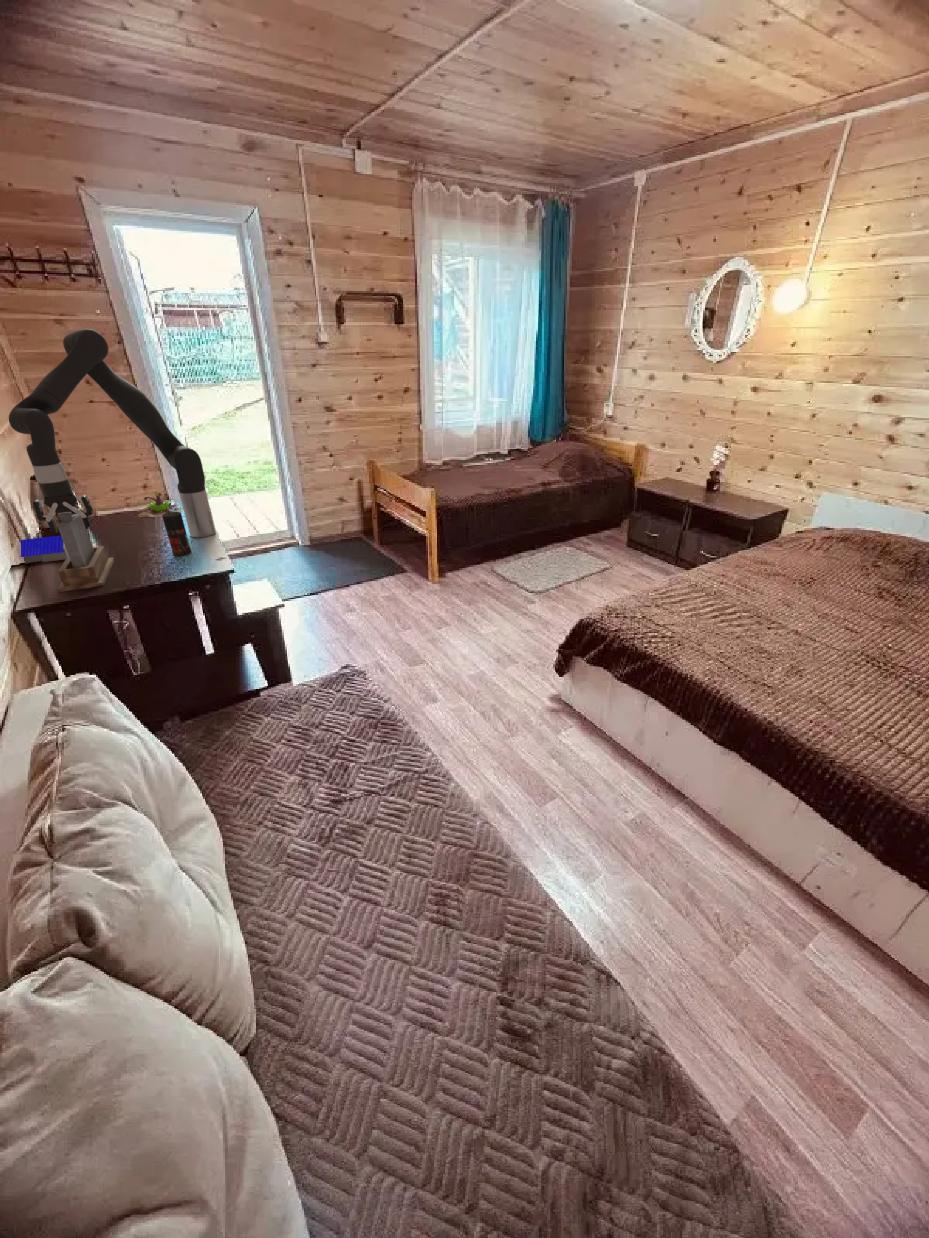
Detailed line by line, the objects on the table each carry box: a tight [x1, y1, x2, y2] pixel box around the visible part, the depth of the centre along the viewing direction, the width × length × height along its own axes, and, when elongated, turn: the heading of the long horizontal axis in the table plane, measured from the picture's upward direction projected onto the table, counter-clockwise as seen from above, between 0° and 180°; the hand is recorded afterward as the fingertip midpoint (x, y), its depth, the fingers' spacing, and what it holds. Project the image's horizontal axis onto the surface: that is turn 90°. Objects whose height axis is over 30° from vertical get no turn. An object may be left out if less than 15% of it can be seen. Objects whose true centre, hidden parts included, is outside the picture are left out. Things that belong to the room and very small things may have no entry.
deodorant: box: [162, 511, 192, 558], centre depth 185 cm, size 6×6×15 cm
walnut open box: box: [57, 545, 115, 593], centre depth 171 cm, size 12×24×6 cm, turn 24°
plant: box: [137, 491, 183, 519], centre depth 230 cm, size 20×20×11 cm
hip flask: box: [57, 511, 95, 568], centre depth 167 cm, size 16×4×20 cm, turn 21°
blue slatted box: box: [20, 535, 68, 564], centre depth 185 cm, size 22×14×7 cm, turn 112°
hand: (72, 530), depth 165 cm, fingers open, 8 cm apart
